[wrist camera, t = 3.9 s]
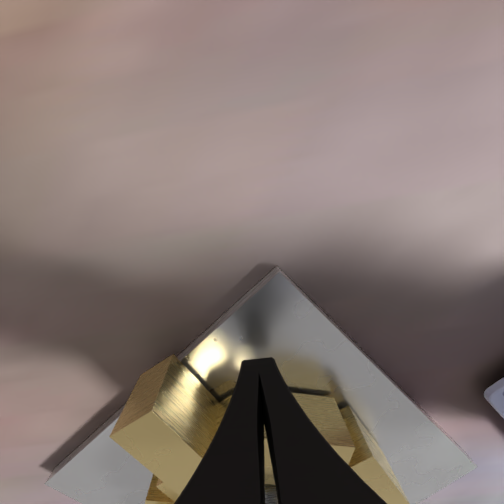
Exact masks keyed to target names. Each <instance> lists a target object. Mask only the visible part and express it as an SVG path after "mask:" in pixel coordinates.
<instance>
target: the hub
mask: <svg viewBox="0 0 504 504" xmlns="http://www.w3.org/2000/svg"><path fill="white" fill-rule="evenodd" d="M268 357H273V358H274V359H275V362H276V364H277V367H278V369H279V371H280V373H281V375H282V377H283V379H284V381H285V382H286V384H287V386H288V388H289V389H290V391H291V392H292V393H300V394H308V395H317V396H325V397H334V398H335V401H336V403H337V406H338V408H339V410H341V409H343V408H345V407H347V406H348V405H349V406H350V408H351V409H352V410H353V412H354V413H355V414H356V416H357V417H358V419H359V420H360V421H361V423H362V424H363V425H364V427H365V428H366V429H367V431H368V432H369V433H370V435H371V436H372V438H373V439H374V440H375V442H376V443H377V444H378V446H379V447H380V448H381V450H382V451H383V453H384V455H385V457H386V459H387V461H388V463H389V465H390V467H391V469H392V470H393V472H394V474H395V476H396V478H397V480H398V482H399V484H400V486H401V488H402V490H403V492H404V494H405V495H406V497H407V499H408V501H409V503H410V504H418V503H420V502H421V501H423V500H425V499H426V498H428V497H430V496H431V495H433V494H435V493H436V492H438V491H439V490H441V489H443V488H444V487H446V486H448V485H449V484H451V483H452V482H454V481H456V480H457V479H459V478H461V477H462V476H464V475H466V474H467V473H469V472H470V471H472V470H474V469H475V468H477V466H476V464H475V463H474V462H473V461H472V460H471V458H470V457H469V456H468V455H467V453H466V452H465V451H464V450H463V449H462V448H461V447H460V446H459V445H458V444H457V443H456V442H455V441H453V440H452V439H451V438H450V437H449V436H448V435H447V434H446V433H445V432H444V431H443V430H442V429H441V428H440V427H439V426H438V425H437V424H436V423H435V422H434V421H433V420H432V419H431V418H430V417H429V416H428V415H427V414H426V413H425V412H424V411H423V410H422V409H421V408H420V407H419V406H418V405H417V404H416V403H415V402H414V401H413V400H412V399H411V398H410V397H409V396H408V395H407V394H406V393H405V392H404V391H403V390H402V389H401V388H400V387H399V386H398V385H397V384H396V383H395V382H394V381H393V380H392V379H391V378H390V377H389V376H388V375H387V374H386V373H385V372H384V371H383V370H382V369H381V368H380V367H379V366H378V365H377V364H376V363H375V362H374V361H373V360H372V359H371V358H370V357H369V356H368V355H367V354H366V353H365V352H364V351H363V350H362V349H361V348H360V347H359V346H358V345H356V344H355V343H354V342H353V341H352V340H351V339H350V338H349V337H348V336H347V335H346V334H345V333H344V332H343V331H342V330H341V329H340V328H339V327H338V326H337V325H336V324H335V323H334V322H333V321H332V320H331V319H330V318H329V317H328V316H327V315H326V314H325V313H324V312H323V311H322V310H321V309H320V308H319V307H318V306H317V305H316V304H315V303H314V302H313V301H312V300H311V299H310V298H309V297H308V296H307V295H306V294H305V293H304V292H303V291H302V290H301V289H300V288H299V287H298V286H297V285H296V284H295V283H294V282H293V281H292V280H291V279H290V278H289V277H288V276H287V275H286V274H285V273H284V272H283V271H282V270H281V269H280V268H279V267H278V266H276V267H275V268H274V269H273V270H272V271H270V272H269V273H268V274H267V275H266V276H265V277H264V278H263V279H262V280H261V281H260V282H258V283H257V284H256V285H255V286H254V287H253V288H252V289H251V290H250V291H249V292H247V293H246V294H245V295H244V296H243V297H242V298H241V299H240V300H239V301H238V302H236V303H235V304H234V305H233V306H232V307H231V308H230V309H229V310H228V311H227V312H226V313H224V314H223V315H222V316H221V317H220V318H219V319H218V320H217V321H216V322H215V323H213V324H212V325H211V326H210V327H209V328H208V329H207V330H206V331H205V332H204V333H202V334H201V335H200V336H199V337H198V338H197V339H196V340H195V341H194V342H193V343H191V344H190V345H189V346H188V347H187V348H186V349H185V350H184V351H183V352H182V353H181V354H179V355H178V356H177V358H178V359H179V360H180V361H181V362H182V363H183V365H184V366H185V367H186V368H187V369H188V370H189V371H190V372H191V373H192V374H193V375H194V376H195V377H196V378H197V379H198V380H199V381H200V383H201V384H202V385H203V386H204V387H205V388H206V389H207V390H208V391H209V392H210V393H211V394H212V395H213V396H214V397H215V398H216V399H217V401H218V402H220V401H222V400H224V399H225V398H227V397H229V396H231V395H232V394H233V391H234V388H235V385H236V382H237V379H238V375H239V371H240V367H241V362H242V361H243V360H249V359H259V358H268ZM125 405H126V404H125ZM125 405H123V406H122V407H121V408H120V409H119V410H118V411H117V412H116V413H115V414H114V415H112V416H111V417H110V418H109V419H108V420H107V421H106V422H105V423H104V424H103V425H102V426H100V427H99V428H98V429H97V430H96V431H95V432H94V433H93V434H92V435H91V436H89V437H88V438H87V439H86V440H85V441H84V442H83V443H82V444H81V445H80V446H78V447H77V448H76V449H75V450H74V451H73V452H72V453H71V454H70V455H69V456H68V457H66V458H65V459H64V460H63V461H62V462H61V463H60V464H59V465H58V466H57V467H55V468H54V470H53V472H52V473H51V475H50V476H49V478H48V479H47V481H46V482H45V485H47V486H49V487H51V488H53V489H55V490H57V491H59V492H61V493H63V494H65V495H66V496H68V497H70V498H72V499H74V500H76V501H78V502H80V503H82V504H145V500H146V497H147V493H148V490H149V486H150V483H151V480H152V476H153V473H152V472H151V471H149V470H148V469H147V468H146V467H145V466H143V465H142V464H141V463H140V462H139V461H138V460H136V459H135V458H134V457H133V456H132V455H130V454H129V453H128V452H127V451H126V450H124V449H123V448H122V447H121V446H120V445H118V444H117V443H116V442H115V441H114V440H112V439H111V438H110V437H109V436H110V434H111V432H112V430H113V428H114V426H115V424H116V422H117V420H118V418H119V417H120V415H121V413H122V411H123V409H124V407H125ZM265 504H278V499H277V492H276V486H275V485H272V484H265Z"/></svg>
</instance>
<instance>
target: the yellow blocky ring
mask: <svg viewBox="0 0 504 504" xmlns="http://www.w3.org/2000/svg"><path fill="white" fill-rule="evenodd" d="M292 394H293V396H294V397H295V399H296V400H297V402H298V403H299V405H300V406H301V408H302V409H303V411H304V412H305V414H306V415H307V416H308V418H309V419H310V420H311V422H312V423H313V424H314V426H315V427H316V428H317V430H318V431H319V432H320V433H321V435H322V436H323V437H324V438H325V439H326V441H327V442H328V443H329V444H330V445H331V446H332V448H333V449H334V450H335V451H336V452H337V453H338V455H339V456H340V457H341V458H342V459H343V460H344V461H345V462H346V463H347V464H348V465H349V466H350V467H351V468H352V469H353V470H354V471H355V472H356V473H357V475H358V476H359V477H360V478H361V479H362V480H363V481H364V482H365V483H366V484H367V485H368V486H369V487H370V488H371V489H372V490H374V491H375V492H376V493H377V494H378V495H379V496H380V497H381V498H382V499H383V500H384V501H385V502H386V503H387V504H410V503H409V501H408V499H407V497H406V495H405V494H404V492H403V490H402V488H401V486H400V484H399V482H398V480H397V478H396V476H395V474H394V472H393V470H392V469H391V467H390V465H389V463H388V461H387V459H386V457H385V455H384V453H383V451H382V450H381V448H380V447H379V446H378V444H377V443H376V442H375V440H374V439H373V438H372V436H371V435H370V433H369V432H368V431H367V429H366V428H365V427H364V425H363V424H362V423H361V421H360V420H359V419H358V417H357V416H356V414H355V413H354V412H353V410H352V409H351V408H350V406H349V405H348V406H347V407H345V408H343V409H341V410H339V408H338V406H337V403H336V401H335V398H334V397H325V396H317V395H308V394H300V393H292ZM231 397H232V395H231V396H229V397H227V398H225V399H224V400H222V401H220V402H218V401H217V399H216V398H215V397H214V396H213V395H212V394H211V393H210V392H209V391H208V390H207V389H206V388H205V387H204V386H203V385H202V384H201V383H200V381H199V380H198V379H197V378H196V377H195V376H194V375H193V374H192V373H191V372H190V371H189V370H188V369H187V368H186V367H185V366H184V365H183V363H182V362H181V361H180V360H179V359H178V358H177V357H176V356H175V355H174V354H173V355H171V356H170V357H168V358H166V359H165V360H163V361H162V362H160V363H159V364H157V365H155V366H154V367H152V368H151V369H149V370H147V371H146V372H144V373H143V374H141V375H140V377H139V379H138V381H137V383H136V385H135V387H134V389H133V391H132V393H131V395H130V397H129V399H128V401H127V403H126V405H125V407H124V409H123V411H122V413H121V415H120V417H119V418H118V420H117V422H116V424H115V426H114V428H113V430H112V432H111V434H110V436H109V437H110V438H111V439H112V440H114V441H115V442H116V443H117V444H118V445H120V446H121V447H122V448H123V449H124V450H126V451H127V452H128V453H129V454H130V455H132V456H133V457H134V458H135V459H136V460H138V461H139V462H140V463H141V464H142V465H143V466H145V467H146V468H147V469H148V470H149V471H151V472H152V473H153V476H152V480H151V483H150V486H149V490H148V493H147V497H146V500H145V504H174V503H175V501H176V500H177V498H178V497H179V495H180V494H181V492H182V491H183V489H184V488H185V486H186V485H187V483H188V482H189V480H190V478H191V477H192V475H193V474H194V472H195V470H196V468H197V467H198V465H199V463H200V462H201V460H202V458H203V456H204V455H205V453H206V451H207V449H208V447H209V445H210V443H211V442H212V440H213V438H214V436H215V434H216V432H217V430H218V427H219V425H220V423H221V421H222V418H223V416H224V414H225V412H226V409H227V407H228V405H229V402H230V399H231ZM264 457H265V484H272V485H275V481H274V475H273V470H272V464H271V459H270V453H269V448H268V442H267V437H266V431H265V425H264Z"/></svg>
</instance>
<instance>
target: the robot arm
mask: <svg viewBox="0 0 504 504" xmlns="http://www.w3.org/2000/svg"><path fill="white" fill-rule="evenodd" d="M484 397H485V399H486V400H487V401H488V402H489V403H490V404H491V406H492V407H493V408H494V409H495V410H496V411H497V412H498V413H499V415H500V416H501V417H502V418H503V419H504V377H503V378H502V379H500V380H499V381H497V382H496V383H494V384H493V385H491V386H490V387H488V388H487V389H486V390H485V392H484ZM264 425H265V431H266V437H267V442H268V448H269V453H270V459H271V464H272V470H273V475H274V481H275V486H276V492H277V499H278V504H387V503H386V502H385V501H384V500H383V499H382V498H381V497H380V496H379V495H378V494H377V493H376V492H375V491H374V490H372V489H371V488H370V487H369V486H368V485H367V484H366V483H365V482H364V481H363V480H362V479H361V478H360V477H359V476H358V475H357V473H356V472H355V471H354V470H353V469H352V468H351V467H350V466H349V465H348V464H347V463H346V462H345V461H344V460H343V459H342V458H341V457H340V456H339V455H338V453H337V452H336V451H335V450H334V449H333V448H332V446H331V445H330V444H329V443H328V442H327V441H326V439H325V438H324V437H323V436H322V435H321V433H320V432H319V431H318V430H317V428H316V427H315V426H314V424H313V423H312V422H311V420H310V419H309V418H308V416H307V415H306V414H305V412H304V411H303V409H302V408H301V406H300V405H299V403H298V402H297V400H296V399H295V397H294V396H293V394H292V392H291V391H290V389H289V388H288V386H287V384H286V382H285V381H284V379H283V377H282V375H281V373H280V371H279V369H278V367H277V364H276V362H275V359H274V358H273V357H268V358H259V359H249V360H243V361H242V362H241V367H240V371H239V375H238V379H237V382H236V385H235V388H234V391H233V394H232V397H231V399H230V402H229V405H228V407H227V409H226V412H225V414H224V416H223V418H222V421H221V423H220V425H219V427H218V430H217V432H216V434H215V436H214V438H213V440H212V442H211V443H210V445H209V447H208V449H207V451H206V453H205V455H204V456H203V458H202V460H201V462H200V463H199V465H198V467H197V468H196V470H195V472H194V474H193V475H192V477H191V478H190V480H189V482H188V483H187V485H186V486H185V488H184V489H183V491H182V492H181V494H180V495H179V497H178V498H177V500H176V501H175V503H174V504H265V457H264Z"/></svg>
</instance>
